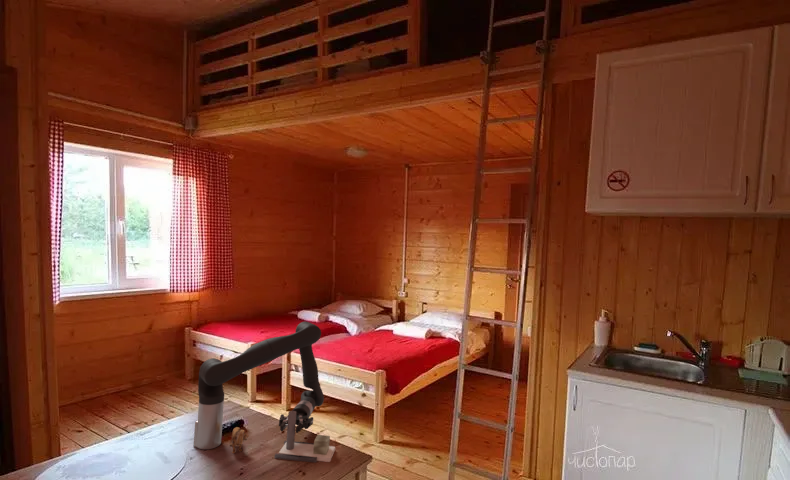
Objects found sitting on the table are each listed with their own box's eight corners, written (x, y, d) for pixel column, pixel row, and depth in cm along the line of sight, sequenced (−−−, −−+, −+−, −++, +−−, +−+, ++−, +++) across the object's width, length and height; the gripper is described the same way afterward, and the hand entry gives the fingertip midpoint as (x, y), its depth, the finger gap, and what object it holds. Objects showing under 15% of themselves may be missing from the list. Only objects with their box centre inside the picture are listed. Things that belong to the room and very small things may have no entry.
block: (313, 453, 160) (314, 440, 160) (316, 447, 165) (317, 434, 165) (326, 454, 160) (327, 441, 160) (329, 448, 165) (329, 435, 165)
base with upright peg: (278, 456, 159) (281, 416, 159) (286, 445, 168) (288, 407, 168) (329, 462, 158) (332, 420, 158) (334, 450, 167) (337, 411, 167)
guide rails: (274, 458, 158) (274, 454, 158) (284, 444, 169) (284, 440, 169) (316, 463, 157) (316, 458, 157) (323, 448, 168) (323, 444, 168)
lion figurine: (248, 454, 160) (250, 431, 160) (234, 457, 157) (235, 433, 157) (238, 438, 172) (239, 416, 172) (224, 441, 169) (226, 419, 169)
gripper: (286, 402, 178) (271, 418, 161) (319, 405, 177) (308, 421, 160) (284, 419, 178) (270, 437, 161) (317, 422, 177) (306, 441, 160)
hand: (289, 429), depth 161 cm, fingers open, 5 cm apart
